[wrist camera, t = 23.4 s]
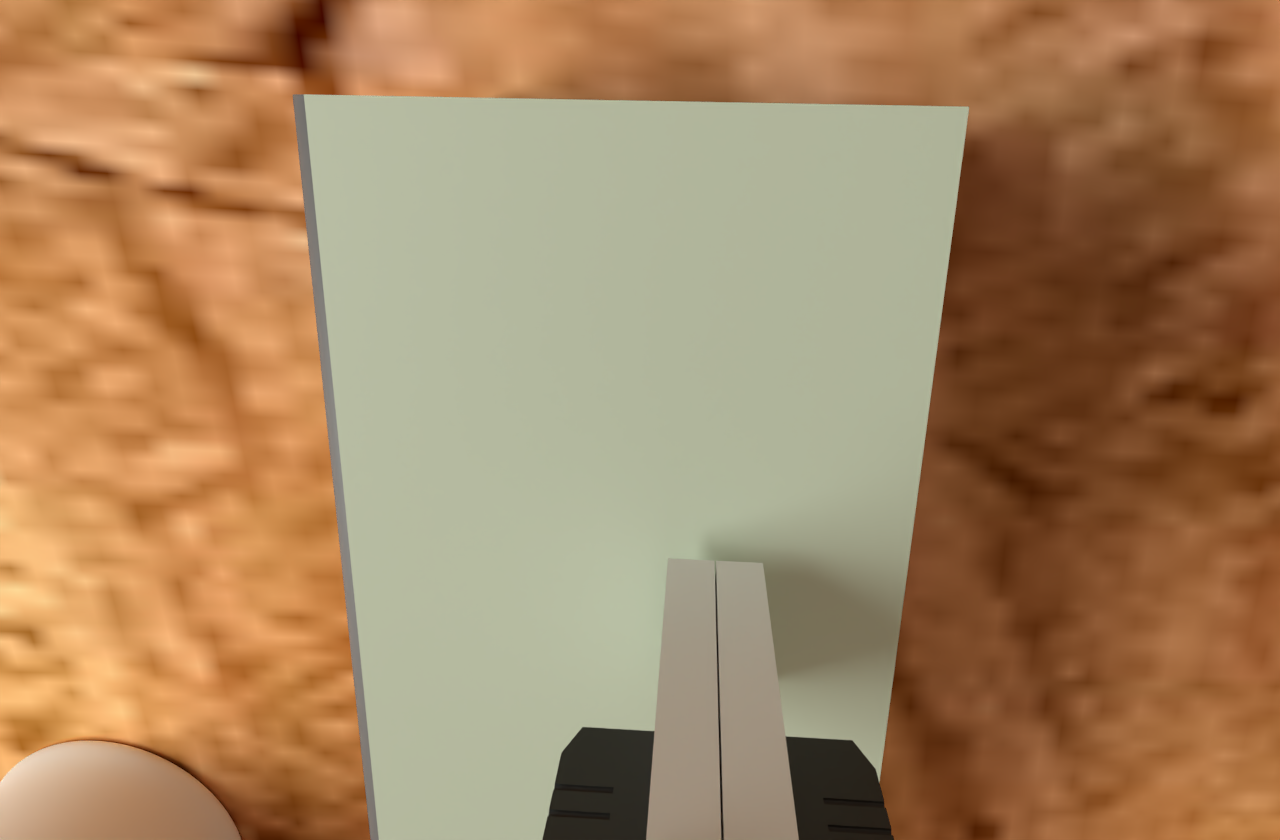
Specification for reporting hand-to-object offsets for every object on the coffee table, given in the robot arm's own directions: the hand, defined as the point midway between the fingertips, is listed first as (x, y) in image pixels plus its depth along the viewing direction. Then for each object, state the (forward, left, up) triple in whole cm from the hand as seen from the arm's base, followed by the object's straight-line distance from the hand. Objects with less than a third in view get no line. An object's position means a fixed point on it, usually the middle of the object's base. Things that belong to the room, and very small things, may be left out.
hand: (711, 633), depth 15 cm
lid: (+4, -2, -2) cm, 5 cm away
